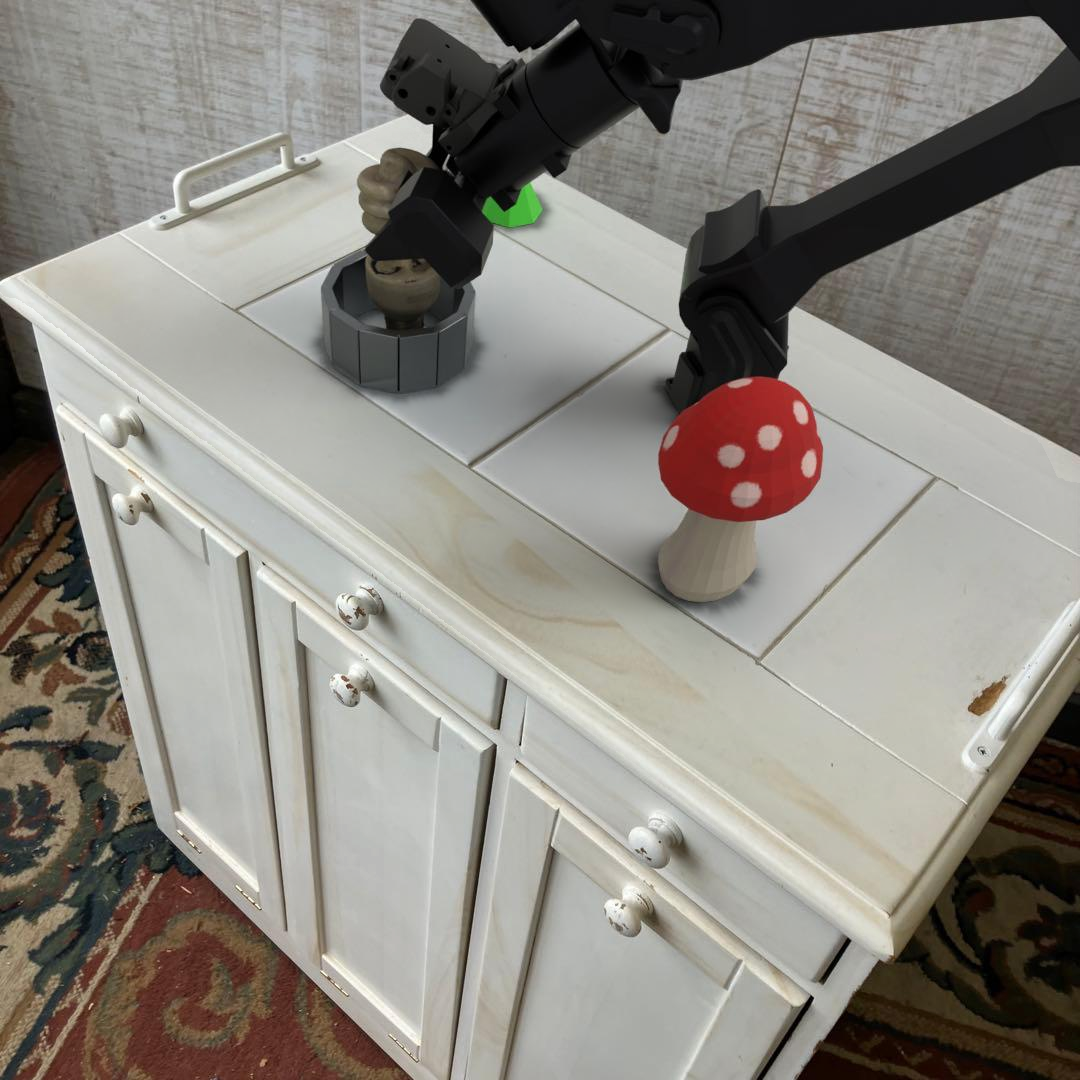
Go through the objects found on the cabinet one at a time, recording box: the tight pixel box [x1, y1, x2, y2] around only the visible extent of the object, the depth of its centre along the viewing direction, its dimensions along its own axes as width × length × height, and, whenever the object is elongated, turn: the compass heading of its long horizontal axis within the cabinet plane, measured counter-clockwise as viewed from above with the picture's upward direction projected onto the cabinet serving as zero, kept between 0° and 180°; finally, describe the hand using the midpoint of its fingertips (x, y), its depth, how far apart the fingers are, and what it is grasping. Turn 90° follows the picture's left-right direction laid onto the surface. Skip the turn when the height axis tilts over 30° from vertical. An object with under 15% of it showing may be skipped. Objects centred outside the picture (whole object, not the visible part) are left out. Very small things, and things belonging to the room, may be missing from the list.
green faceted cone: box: [482, 182, 543, 228], centre depth 92 cm, size 6×6×6 cm
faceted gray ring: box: [320, 248, 476, 394], centre depth 79 cm, size 11×11×5 cm
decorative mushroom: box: [657, 377, 824, 603], centre depth 64 cm, size 10×9×15 cm
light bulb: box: [356, 147, 441, 331], centre depth 75 cm, size 6×6×15 cm
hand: (381, 232), depth 74 cm, fingers closed on light bulb, 5 cm apart
